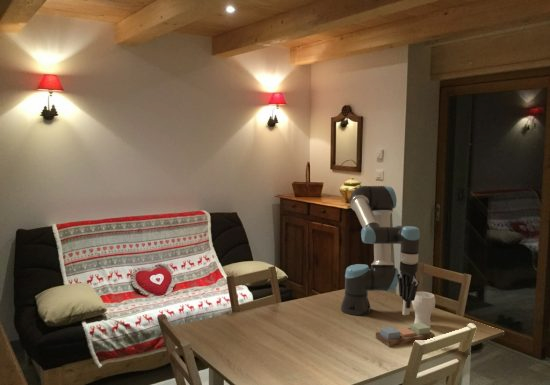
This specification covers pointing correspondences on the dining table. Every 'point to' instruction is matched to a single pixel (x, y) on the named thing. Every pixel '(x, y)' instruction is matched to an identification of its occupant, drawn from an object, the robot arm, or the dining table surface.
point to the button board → (403, 339)
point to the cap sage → (420, 328)
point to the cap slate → (389, 333)
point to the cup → (423, 307)
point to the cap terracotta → (406, 332)
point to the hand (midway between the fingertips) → (405, 314)
